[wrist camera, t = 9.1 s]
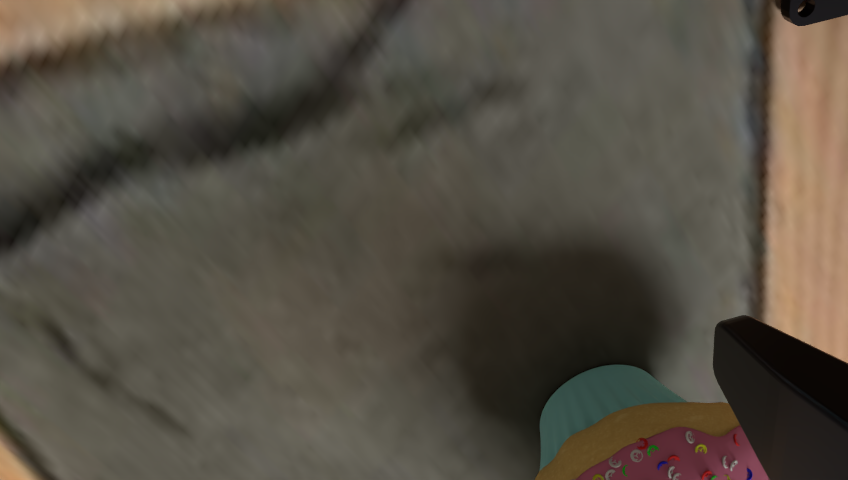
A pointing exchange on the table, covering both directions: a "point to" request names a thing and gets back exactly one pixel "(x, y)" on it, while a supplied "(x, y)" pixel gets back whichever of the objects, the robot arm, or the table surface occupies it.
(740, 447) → the cupcake
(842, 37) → the table surface
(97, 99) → the table surface
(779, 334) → the robot arm
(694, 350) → the table surface
